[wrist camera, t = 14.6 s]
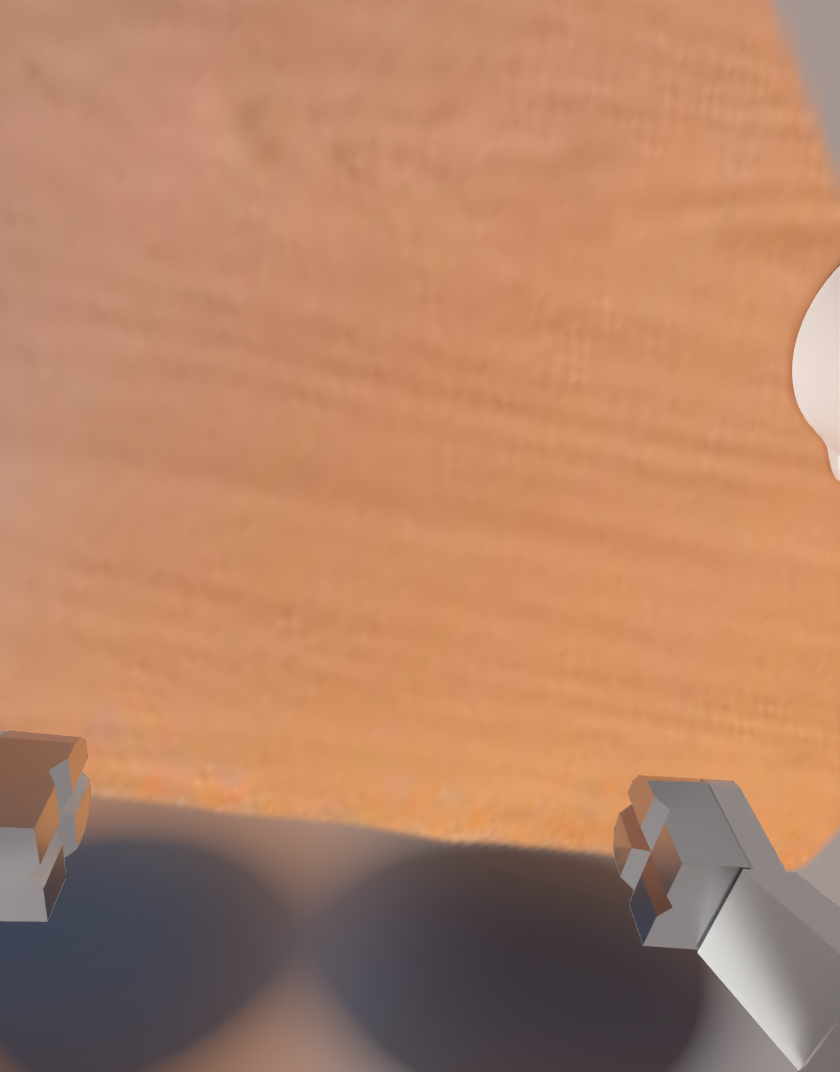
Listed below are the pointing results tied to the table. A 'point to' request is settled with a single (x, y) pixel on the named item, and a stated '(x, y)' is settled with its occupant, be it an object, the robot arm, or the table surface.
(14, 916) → the robot arm
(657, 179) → the table surface
